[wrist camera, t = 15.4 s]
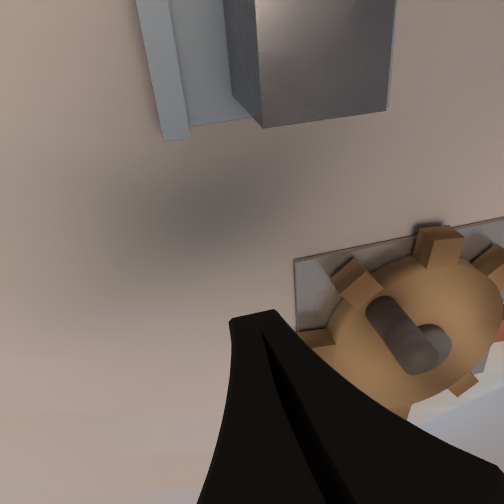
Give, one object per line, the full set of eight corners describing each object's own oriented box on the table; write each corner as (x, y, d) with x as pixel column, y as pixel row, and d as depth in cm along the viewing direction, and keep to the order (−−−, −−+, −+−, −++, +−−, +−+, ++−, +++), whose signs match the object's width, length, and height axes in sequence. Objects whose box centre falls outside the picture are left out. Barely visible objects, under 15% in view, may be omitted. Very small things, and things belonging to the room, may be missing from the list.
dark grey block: (328, -33, 16) (399, -43, 11) (327, 82, 18) (386, 110, 13) (220, -24, 15) (252, -31, 11) (232, 95, 17) (262, 128, 13)
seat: (370, -71, 16) (403, -80, 14) (362, 95, 19) (388, 107, 17) (125, -49, 15) (124, -56, 13) (160, 125, 18) (163, 142, 16)
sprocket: (447, 173, 22) (532, 222, 17) (540, 308, 29) (617, 368, 25) (248, 349, 25) (273, 431, 20) (377, 431, 32) (417, 506, 28)
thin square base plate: (524, 213, 25) (527, 215, 25) (480, 369, 32) (483, 372, 32) (293, 259, 23) (295, 262, 23) (300, 415, 30) (301, 419, 30)
